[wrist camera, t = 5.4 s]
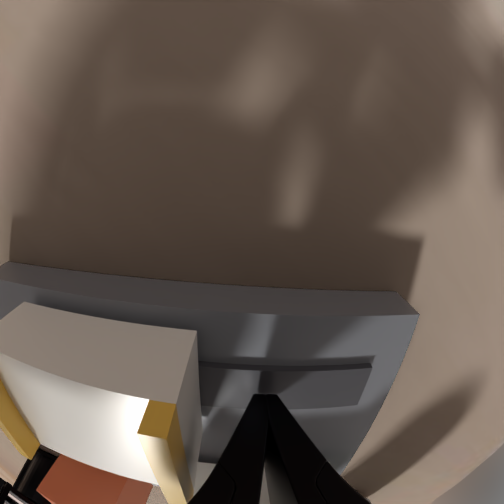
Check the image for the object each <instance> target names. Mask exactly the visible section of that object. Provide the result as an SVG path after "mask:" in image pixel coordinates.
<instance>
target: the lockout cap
mask: <svg viewBox="0 0 504 504" xmlns="http://www.w3.org/2000/svg"><path fill="white" fill-rule="evenodd" d="M152 487H153V485H152V484H151V483H148V482H143V481H139V480H135V479H131V478H128V477H124V476H121V475H117V474H114V473H111V472H108V471H105V470H102V469H99V468H96V467H93V466H90V465H87V464H85V463H82V462H80V461H77V460H75V459H72V458H70V457H67V456H65V455H63V454H60V455H59V457H58V458H57V460H56V461H55V463H54V464H53V466H52V467H51V468H50V470H49V471H48V473H47V474H46V476H45V477H44V479H43V480H42V482H41V483H40V485H39V486H38V488H37V489H36V490H37V491H38V492H39V493H40V494H41V495H42V496H43V497H45V498H46V499H47V500H48V501H49V502H50V503H52V504H146V502H147V499H148V497H149V494H150V492H151V489H152Z"/></svg>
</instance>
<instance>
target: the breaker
mask: <svg viewBox="0 0 504 504" xmlns="http://www.w3.org/2000/svg"><path fill="white" fill-rule="evenodd" d="M0 428H1V429H2V431H3V432H4V433H5V435H6V436H7V437H8V439H9V440H10V441H11V443H12V444H13V445H14V446H15V448H16V449H17V450H18V451H19V452H20V454H21V455H23V456H25V457H26V458H28V459H30V460H32V458H33V456H34V455H35V453H36V451H37V449H38V447H39V446H40V444H41V445H43V446H45V447H48V448H50V449H52V450H54V451H56V452H58V453H60V454H63V455H65V456H67V457H70V458H72V459H75V460H77V461H80V462H82V463H85V464H87V465H90V466H93V467H96V468H99V469H102V470H105V471H108V472H111V473H114V474H117V475H121V476H124V477H128V478H131V479H135V480H139V481H143V482H148V483H152V484H157V485H159V486H160V488H161V490H162V492H163V494H164V496H165V498H166V500H167V502H168V504H187V503H188V502H189V501H190V500H191V499H192V498H193V494H194V486H195V479H196V472H197V465H198V458H199V452H200V445H201V438H202V432H203V427H202V415H201V402H200V386H199V368H198V346H197V331H195V330H185V329H176V328H167V327H159V326H151V325H143V324H136V323H129V322H123V321H117V320H110V319H104V318H99V317H93V316H88V315H82V314H77V313H72V312H67V311H63V310H58V309H53V308H49V307H45V306H40V305H36V304H32V303H28V302H23V303H22V304H20V305H19V306H18V307H16V308H15V309H14V310H12V311H11V312H10V313H9V314H7V315H6V316H5V317H3V318H2V319H1V320H0Z"/></svg>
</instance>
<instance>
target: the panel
mask: <svg viewBox="0 0 504 504" xmlns="http://www.w3.org/2000/svg"><path fill="white" fill-rule="evenodd" d="M23 302H28V303H32V304H36V305H40V306H45V307H49V308H53V309H58V310H63V311H67V312H72V313H77V314H82V315H88V316H93V317H99V318H104V319H110V320H117V321H123V322H129V323H136V324H143V325H151V326H159V327H167V328H176V329H185V330H195V331H197V346H198V368H199V386H200V402H201V415H202V427H203V432H202V438H201V445H200V452H199V458H198V462H202V463H212V464H216V463H218V460H219V458H220V456H221V455H222V453H223V451H224V449H225V447H226V446H227V444H228V442H229V440H230V438H231V436H232V434H233V433H234V431H235V429H236V427H237V425H238V423H239V421H240V419H241V417H242V415H243V413H244V411H245V409H246V407H247V405H248V404H249V402H250V400H251V398H252V396H253V394H277V395H278V396H279V398H280V399H281V400H282V402H283V403H284V405H285V406H286V407H287V409H288V410H289V411H290V413H291V414H292V415H293V417H294V418H295V419H296V421H297V422H298V423H299V425H300V426H301V427H302V429H303V430H304V431H305V433H306V434H307V435H308V437H309V438H310V439H311V440H312V442H313V443H314V444H315V446H316V447H317V448H318V449H319V451H320V452H321V453H322V454H323V456H324V457H325V458H326V459H327V461H328V462H330V464H331V465H332V467H333V468H334V469H335V470H336V471H337V472H338V474H339V475H341V473H342V472H343V470H344V469H345V468H346V466H347V465H348V463H349V462H350V460H351V458H352V457H353V455H354V454H355V452H356V451H357V449H358V447H359V446H360V444H361V442H362V441H363V439H364V437H365V436H366V434H367V432H368V430H369V429H370V427H371V425H372V423H373V422H374V420H375V418H376V416H377V414H378V412H379V410H380V408H381V406H382V404H383V402H384V400H385V398H386V396H387V394H388V392H389V390H390V388H391V386H392V384H393V382H394V379H395V377H396V375H397V373H398V370H399V368H400V366H401V363H402V361H403V358H404V356H405V353H406V351H407V348H408V346H409V343H410V341H411V338H412V335H413V332H414V330H415V327H416V324H417V321H418V318H419V315H420V314H419V313H418V312H417V311H416V310H415V309H414V308H413V307H412V306H411V305H410V304H409V303H408V302H406V301H405V300H404V299H403V298H402V297H401V296H400V295H399V294H398V293H397V292H392V291H344V290H315V289H291V288H271V287H254V286H237V285H222V284H208V283H195V282H182V281H171V280H159V279H148V278H138V277H128V276H118V275H109V274H99V273H91V272H82V271H74V270H66V269H58V268H50V267H43V266H35V265H28V264H21V263H15V262H7V263H5V264H3V265H1V266H0V320H1V319H2V318H3V317H5V316H6V315H7V314H9V313H10V312H11V311H12V310H14V309H15V308H16V307H18V306H19V305H20V304H22V303H23ZM327 461H326V462H327ZM151 484H152V483H151ZM152 485H155V486H159V485H157V484H152ZM159 487H160V486H159Z"/></svg>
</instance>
